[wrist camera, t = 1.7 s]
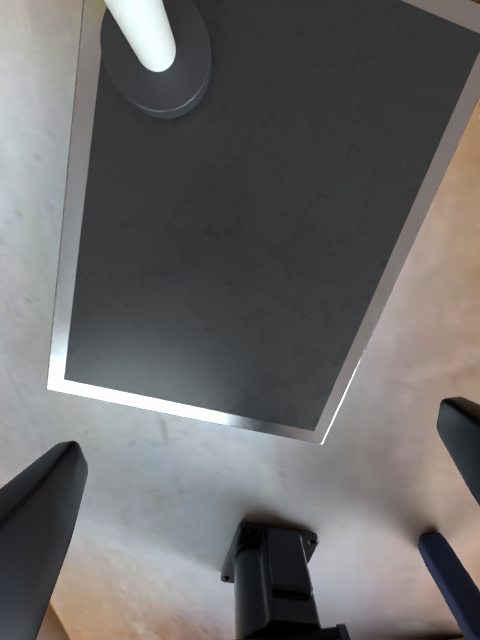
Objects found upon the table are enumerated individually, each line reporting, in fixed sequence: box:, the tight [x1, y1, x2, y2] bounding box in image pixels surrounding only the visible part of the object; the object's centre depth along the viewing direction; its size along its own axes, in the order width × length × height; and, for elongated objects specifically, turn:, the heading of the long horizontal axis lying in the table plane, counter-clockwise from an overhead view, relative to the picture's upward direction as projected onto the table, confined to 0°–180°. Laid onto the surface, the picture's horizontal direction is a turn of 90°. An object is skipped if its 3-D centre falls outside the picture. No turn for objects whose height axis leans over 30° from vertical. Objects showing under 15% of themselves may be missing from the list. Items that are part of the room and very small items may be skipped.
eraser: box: [419, 533, 480, 640], centre depth 24 cm, size 2×2×7 cm
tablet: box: [46, 0, 480, 444], centre depth 17 cm, size 24×18×1 cm
